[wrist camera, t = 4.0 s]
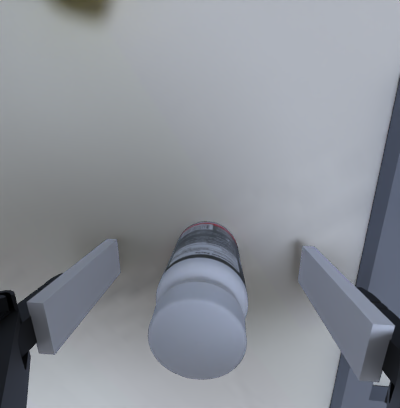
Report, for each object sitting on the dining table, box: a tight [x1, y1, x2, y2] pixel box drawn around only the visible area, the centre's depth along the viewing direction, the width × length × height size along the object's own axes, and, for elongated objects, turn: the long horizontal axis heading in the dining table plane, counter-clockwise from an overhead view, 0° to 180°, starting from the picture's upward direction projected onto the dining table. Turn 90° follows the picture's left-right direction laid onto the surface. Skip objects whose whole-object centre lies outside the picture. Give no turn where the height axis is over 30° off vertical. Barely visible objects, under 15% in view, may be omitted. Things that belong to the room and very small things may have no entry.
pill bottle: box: [148, 222, 248, 379], centre depth 12 cm, size 5×5×8 cm
